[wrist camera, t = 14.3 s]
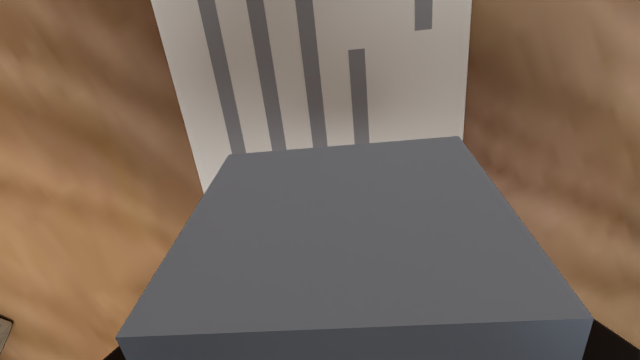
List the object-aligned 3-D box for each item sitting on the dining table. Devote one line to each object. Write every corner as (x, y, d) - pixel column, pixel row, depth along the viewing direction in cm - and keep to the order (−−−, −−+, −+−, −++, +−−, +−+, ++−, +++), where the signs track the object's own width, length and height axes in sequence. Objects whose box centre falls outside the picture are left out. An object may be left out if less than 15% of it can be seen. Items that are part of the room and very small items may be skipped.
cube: (458, 136, 8) (594, 318, 4) (448, 309, 11) (526, 548, 6) (228, 154, 9) (115, 337, 4) (266, 317, 11) (216, 546, 7)
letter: (480, -161, 14) (482, -163, 13) (455, 240, 21) (456, 242, 21) (123, -109, 15) (120, -110, 15) (221, 254, 22) (220, 256, 22)
